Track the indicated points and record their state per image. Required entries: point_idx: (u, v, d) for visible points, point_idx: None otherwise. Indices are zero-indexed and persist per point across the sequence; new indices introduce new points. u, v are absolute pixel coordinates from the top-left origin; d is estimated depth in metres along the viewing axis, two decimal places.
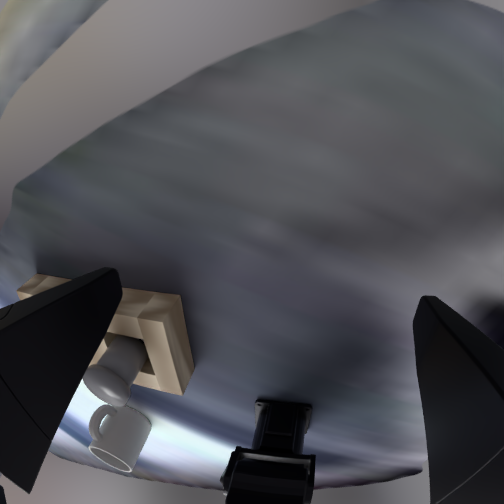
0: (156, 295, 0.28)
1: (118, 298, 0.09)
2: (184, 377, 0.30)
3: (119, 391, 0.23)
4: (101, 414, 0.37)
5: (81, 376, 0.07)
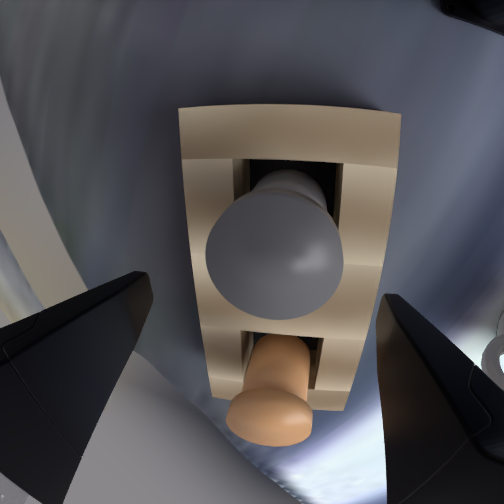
0: None
1: (149, 303, 0.09)
2: None
3: (252, 206, 0.10)
4: (491, 364, 0.16)
5: (112, 386, 0.07)
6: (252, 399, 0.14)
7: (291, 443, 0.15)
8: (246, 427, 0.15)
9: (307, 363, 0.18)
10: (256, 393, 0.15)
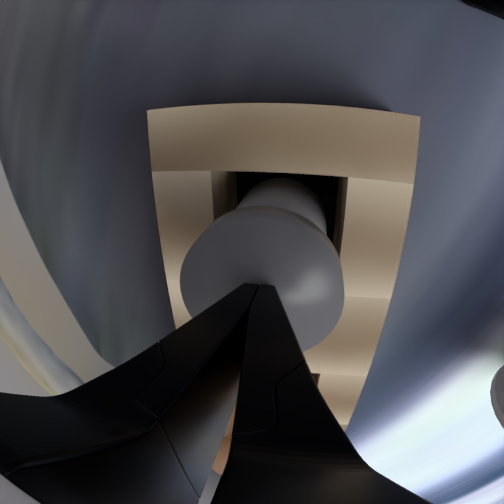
0: None
1: None
2: (373, 109, 0.10)
3: (233, 230, 0.08)
4: (501, 394, 0.14)
5: (230, 415, 0.07)
6: None
7: None
8: None
9: None
10: None
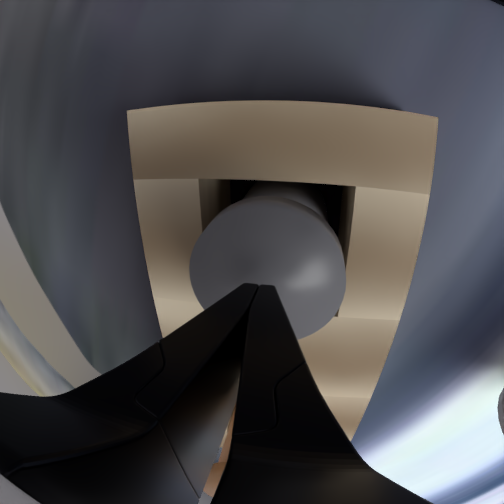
0: None
1: None
2: None
3: (241, 218, 0.08)
4: None
5: (230, 415, 0.07)
6: None
7: None
8: None
9: None
10: None
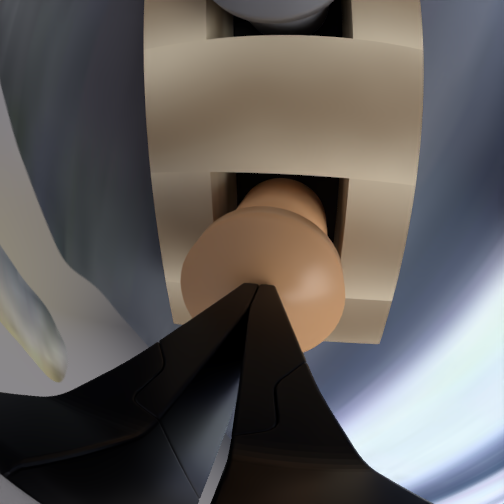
0: None
1: None
2: None
3: None
4: None
5: (230, 415, 0.07)
6: (227, 220, 0.08)
7: (305, 347, 0.09)
8: None
9: (323, 217, 0.12)
10: (236, 213, 0.08)
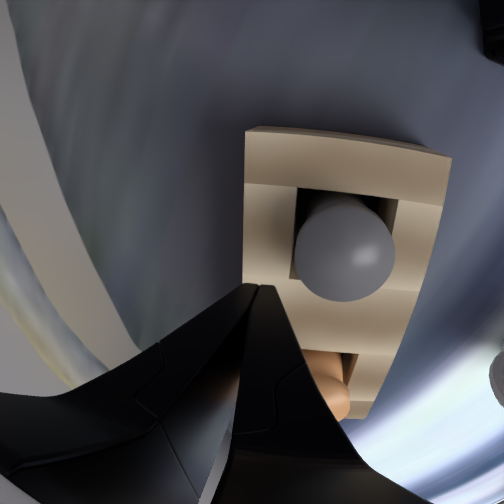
0: None
1: None
2: (416, 148, 0.14)
3: (337, 216, 0.13)
4: (498, 376, 0.18)
5: (230, 415, 0.07)
6: None
7: None
8: None
9: (340, 354, 0.21)
10: None
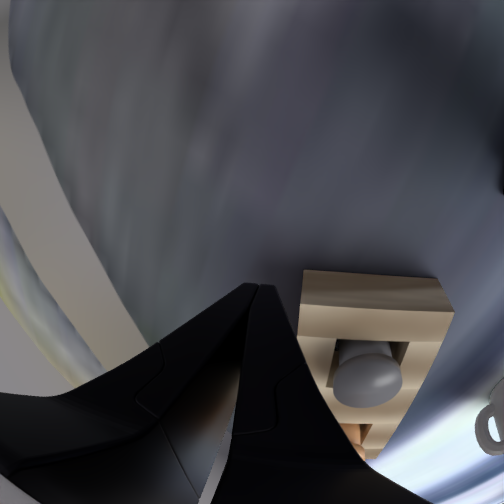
0: None
1: None
2: (429, 299, 0.18)
3: (365, 368, 0.17)
4: (481, 427, 0.21)
5: (230, 415, 0.07)
6: None
7: None
8: None
9: None
10: None
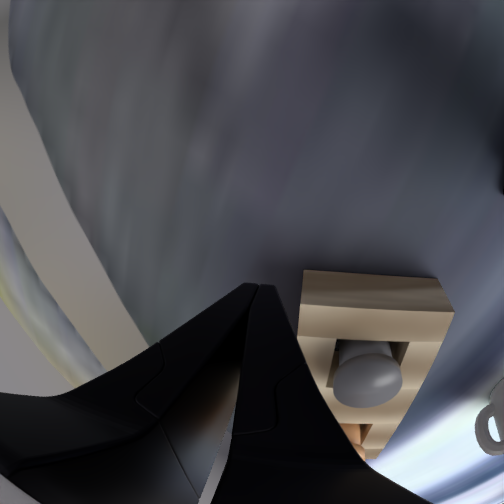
0: None
1: None
2: (429, 299, 0.18)
3: (365, 368, 0.17)
4: (481, 427, 0.21)
5: (230, 415, 0.07)
6: None
7: None
8: None
9: None
10: None
